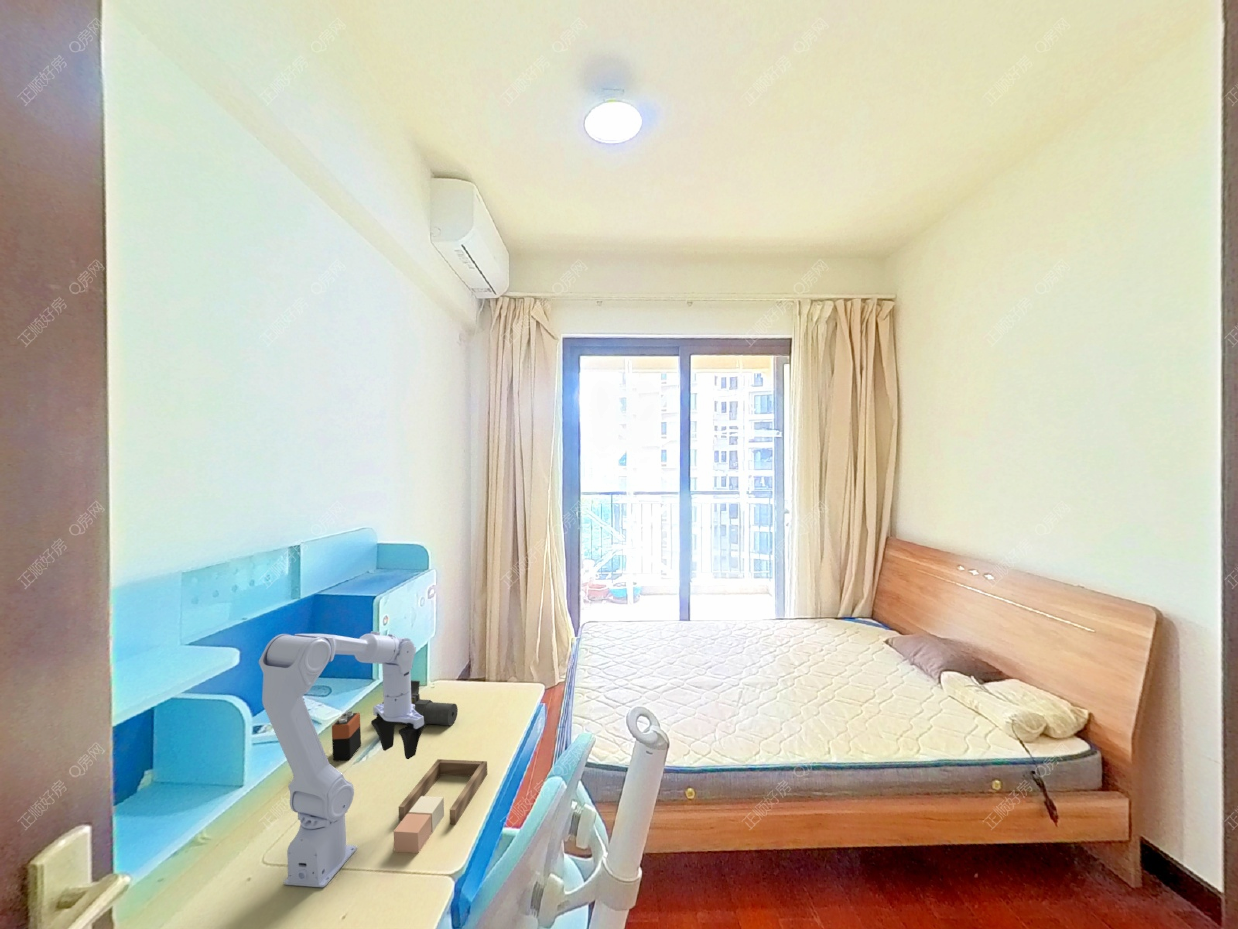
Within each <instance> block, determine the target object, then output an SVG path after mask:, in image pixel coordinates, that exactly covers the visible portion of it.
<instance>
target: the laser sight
mask: <svg viewBox="0 0 1238 929" xmlns="http://www.w3.org/2000/svg"><path fill="white" fill-rule="evenodd" d="M420 683H421V681H420V680H414V679H413V680H412V679H411V704H414V705H415V708H414V710H415V711H416V712H417V713H419V714H420V715H422V716H424V721H425V724H426V725H425V726H427V725H429V724H430V725H444V726H452V725H454V724H455V722H456V720H457V717H458V705H457V704H456V703H449V702H447V703H446V702H433V701H432V700H431V699H421V698H420V693H419V692H420V686H421V684H420ZM381 703H382V704H384V702H383V701H382V702H381ZM395 724H399V725H400V724H401V725H407V724H406V723H403V722H395Z"/></svg>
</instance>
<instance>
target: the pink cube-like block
mask: <svg viewBox="0 0 1238 929" xmlns="http://www.w3.org/2000/svg"><path fill="white" fill-rule="evenodd" d="M431 836H432V832H431V815H422V814H407V815H406V816H405V817H404V819H403V820H402V821H399V824H398V825H397V826H396V828H394V830H393V851H394V852H398V853H399V852H401V853H414V854H420V852H421V850H422V849H423V847H424V845H425V844H426V843H427V841H428V840H429V838H430V837H431Z"/></svg>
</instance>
